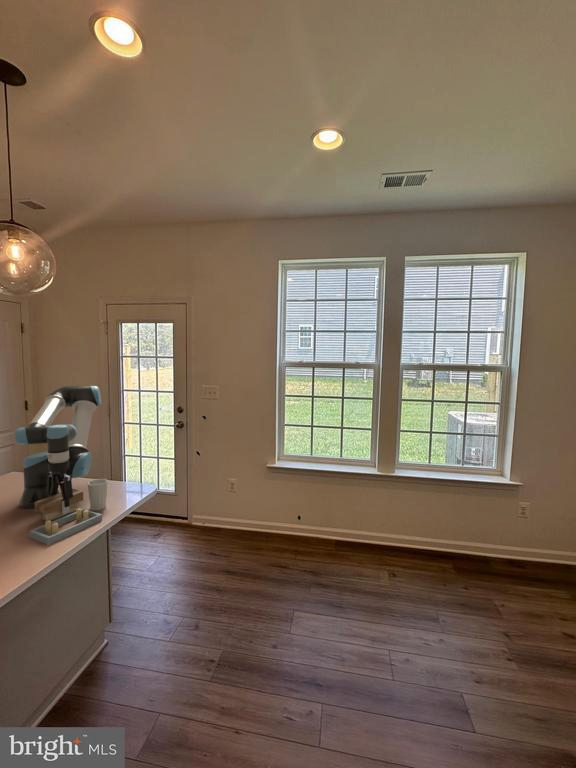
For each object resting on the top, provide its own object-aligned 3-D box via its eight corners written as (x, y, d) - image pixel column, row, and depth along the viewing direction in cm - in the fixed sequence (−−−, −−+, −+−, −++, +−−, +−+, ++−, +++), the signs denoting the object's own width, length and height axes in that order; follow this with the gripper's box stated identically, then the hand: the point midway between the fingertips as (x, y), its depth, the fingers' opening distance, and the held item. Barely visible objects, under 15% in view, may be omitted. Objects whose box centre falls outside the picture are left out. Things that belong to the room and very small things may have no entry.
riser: (42, 519, 137) (42, 510, 137) (71, 508, 148) (71, 499, 148) (48, 521, 136) (48, 512, 136) (76, 509, 147) (76, 501, 146)
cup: (93, 503, 153) (93, 478, 153) (111, 503, 154) (110, 478, 153) (84, 511, 145) (83, 485, 145) (103, 510, 146) (102, 484, 145)
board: (35, 511, 136) (34, 502, 136) (73, 497, 151) (73, 488, 150) (45, 514, 133) (44, 505, 133) (83, 499, 148) (83, 491, 148)
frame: (29, 537, 123) (29, 524, 123) (83, 514, 143) (83, 503, 142) (48, 544, 118) (48, 531, 118) (102, 520, 138) (101, 508, 137)
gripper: (35, 459, 141) (37, 510, 143) (64, 466, 133) (65, 520, 135) (53, 455, 148) (55, 504, 150) (82, 461, 140) (83, 512, 142)
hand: (60, 511), depth 142 cm, fingers closed on board, 7 cm apart
